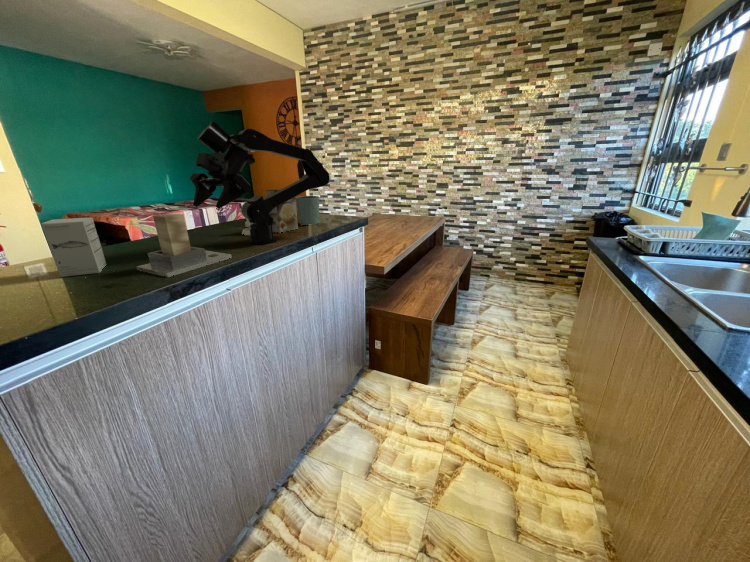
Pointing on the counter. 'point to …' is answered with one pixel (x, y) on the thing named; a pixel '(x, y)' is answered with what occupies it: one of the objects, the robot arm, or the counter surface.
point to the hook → (247, 224)
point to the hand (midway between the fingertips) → (205, 206)
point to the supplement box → (74, 246)
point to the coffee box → (284, 215)
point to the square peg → (172, 233)
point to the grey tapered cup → (308, 209)
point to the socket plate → (180, 261)
